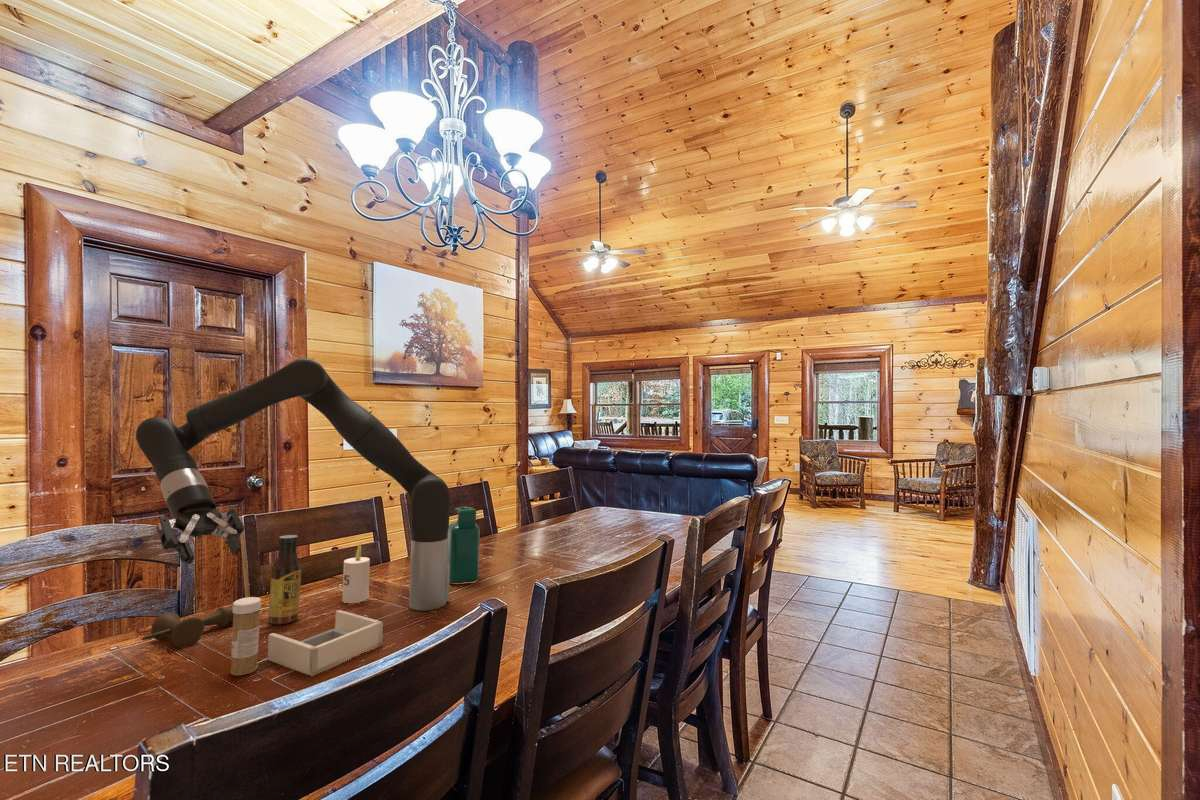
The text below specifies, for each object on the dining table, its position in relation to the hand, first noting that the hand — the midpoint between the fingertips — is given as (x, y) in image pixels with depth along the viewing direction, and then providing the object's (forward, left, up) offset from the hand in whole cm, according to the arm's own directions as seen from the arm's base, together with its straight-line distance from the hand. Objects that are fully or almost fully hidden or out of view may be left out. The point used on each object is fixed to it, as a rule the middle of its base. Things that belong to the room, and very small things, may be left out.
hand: (214, 556), depth 109 cm
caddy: (-13, +18, -20) cm, 30 cm away
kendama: (-4, -15, -21) cm, 26 cm away
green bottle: (-64, +9, -20) cm, 68 cm away
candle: (-37, -4, -20) cm, 42 cm away
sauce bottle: (-19, -6, -20) cm, 29 cm away
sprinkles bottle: (0, +12, -20) cm, 23 cm away
